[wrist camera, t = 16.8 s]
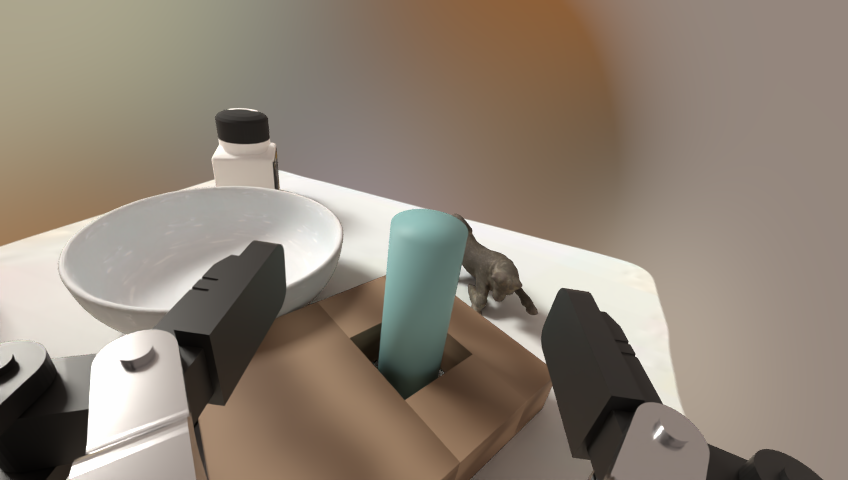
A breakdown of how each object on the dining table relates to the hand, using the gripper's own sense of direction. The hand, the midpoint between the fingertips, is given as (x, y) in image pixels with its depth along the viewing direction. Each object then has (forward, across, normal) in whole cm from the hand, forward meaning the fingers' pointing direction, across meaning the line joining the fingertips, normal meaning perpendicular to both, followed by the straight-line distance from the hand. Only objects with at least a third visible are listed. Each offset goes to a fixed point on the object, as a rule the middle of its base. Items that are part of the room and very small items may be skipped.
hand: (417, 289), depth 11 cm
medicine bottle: (+38, +24, +19) cm, 49 cm away
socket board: (+8, +2, +18) cm, 20 cm away
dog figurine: (+23, -7, +18) cm, 30 cm away
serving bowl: (+18, +17, +19) cm, 31 cm away
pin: (+10, -1, +18) cm, 21 cm away
